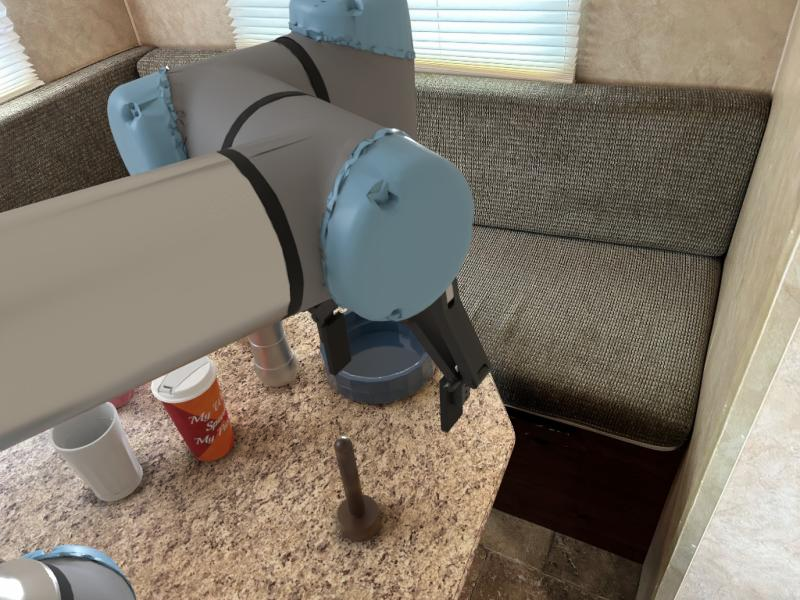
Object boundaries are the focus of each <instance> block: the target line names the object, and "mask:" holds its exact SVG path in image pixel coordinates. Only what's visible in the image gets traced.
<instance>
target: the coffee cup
mask: <svg viewBox="0 0 800 600" xmlns="http://www.w3.org/2000/svg"><path fill="white" fill-rule="evenodd" d="M217 374H218V368H217V365H216V363H215V361H213V359H212V358H210V357H209V356H208V355H206V356H204V357H202V358H200V359H198V360H196V361H194V362H191V363H189V364H187V365H185V366H183V367H181V368H179V369H176V370H174V371H172V372H170V373H168V374H166V375H164V376H162V377H159V378H157V379H155V380H153V381H151V385H150V390H151V392H152V395H153V396H154V398H156V399H157V400H158V401H160V403H161V404H162V406H163V408H164V410H165V411H166V413H167V414H168V416H169V418H170V419H171V421H172V423H173V424H174V426H175V428H176V429H177V431H178V432H179V434H180V436H181V437H182V439H183V441H184V442H185V444H186V446H187V447H188V449H189V450H190V452H191V453H192V455H193V456H194V457H195V458H196V459H197V460H198V461H201V462H214V461H217V460H220V459H222V458H224V457H225V456H226V455H227V454H228V453H229V452H230V451H231V450H232V448H233V447H234V444H235V434H234V430H233V427H232V424H231V420H230V416H229V413H228V409H227V407H226V403H225V400H224V396H223V393H222V390H221V386H220V383H219V380H218V377H217V376H218V375H217Z"/></svg>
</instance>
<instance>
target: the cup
mask: <svg viewBox="0 0 800 600" xmlns="http://www.w3.org/2000/svg"><path fill="white" fill-rule="evenodd" d="M47 437H48V442H49V444H50V446H51V447H52V448H53V449H54V450H55V451H56V452H57V454H59V455H60V456H61V457H62V458H63V459H64V461H65V462H66V463H67V464H68V465H69V466H70V468H72V470H73V471H74V472H75V473H76V474H77V475H78V476H79V477H80V478H81V480H82V481H83V482H84V483H85V484H86V485H87V486H88V488H89V489H91V491H92V492H93V493H94V495H95V496H96V497H97V498H98V499H99V500H101V501H102V502H116V501H120V500H123V499H125V498H126V497H128V496H129V495H131V494H132V493H134V491H135V490H136V489H137V488H138V487H139V486H140V484H141V482H142V479H143V476H144V471H143V468H142V466H141V465H140V463H139V461H138V460H137V457H136V454H135V452H134V450H133V448H132V446H131V443H130V441H129V439H128V436H127V434H126V432H125V429H124V425H123V423H122V421H121V418H120V416H119V414H118V411H117V408H116V409H115V407H114V406H113V405H112V404H111V403H110V402H106V403H104V404H102V405H100V406H98V407H95V408H93V409H91V410H89V411H87V412H85V413H83V414H80V415H78V416H76V417H74V418H72V419H70V420H68V421H66V422H63V423H61V424H59V425H57V426H55V427H53V428H51V429H49V431H48V435H47Z"/></svg>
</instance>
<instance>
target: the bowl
mask: <svg viewBox="0 0 800 600" xmlns="http://www.w3.org/2000/svg"><path fill="white" fill-rule="evenodd" d="M342 313H343V314H344V318H345V324H346V330H347V336H348V342H349V348H350V354H351V360H352V361H351V362H350V363H348V364H347V365H346V366H345V367H344V368H343V369H342V370H341V371H340V372H339V373H338V374H337V375H336V376H333V375H332V374H330V373H329V368H328V363H327V358H326V353H325V348H324V344H323V343H322V342H321V340H320V339H319V340H320V341H319V355H320V358H321V364H322V368H323V372H324V375H325V378H326V380H327V383H328V384H329V385H330V387H331V388H332V389H334V390H335V392H336V393H337V394H339V396H342V397H344V398H346V399H349V400H351V401H352V402H358V403H364V404H370V405H378V404H379V405H380V404H390V403H394V402H398V401H400V400H403V399H407V398H408V397H411V396H412V395H414V394H415V393H416V392H418V391H420V390H421V389H422V388H425V386H426V384H428V382H429V381H430V380H431V379H432V377H433V376H434V374H435V371H436V367H437V366H436V364H435V363H434V362H433V360H432V359H431V357H430V356H429V355H428V353H427V352H426V351H425V349H424V348H423V346H422V345H421V344H420V342H419V341H418V340H417V338H416V337H415V335H414V334H413V333H412V331H411V330H410V329H409V327H408V326H407V325H402V324H400V323H399V322H398V321H394V320H389V321H372V320H368V319H365V318H363V317H361V316H359V315H358V314H356V313H355V312H353V311H350V310H348V309H347V310H345V311H343V312H342Z"/></svg>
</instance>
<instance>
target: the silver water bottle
mask: <svg viewBox="0 0 800 600" xmlns="http://www.w3.org/2000/svg"><path fill="white" fill-rule="evenodd" d="M247 337H248V339H249V342H248V343H249V344H250V348H251V352H252V358H253V369H254V373H255V375H256V377H257V378H258V380H259V381H260V382H261V383H262V384H263V385H265V386H269V387H272V388H279V387H280V388H281V387H284V386H286V385H288V384H290V383H292V382H293V380H295V378H296V376H297V374H298V371H299V363H298V362H299V361H298V358H297V356H296V354H295V352H294V350H293V349H292V346H291V345H290V342H289V340H288V337H287V333H286V330H285V324H284V320H281V321H279V322H277V323H275V324H272V325H270V326H268V327H266V328H264V329H262V330H260V331H258V332H255V333H253V334H251V335H249V336H247Z"/></svg>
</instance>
